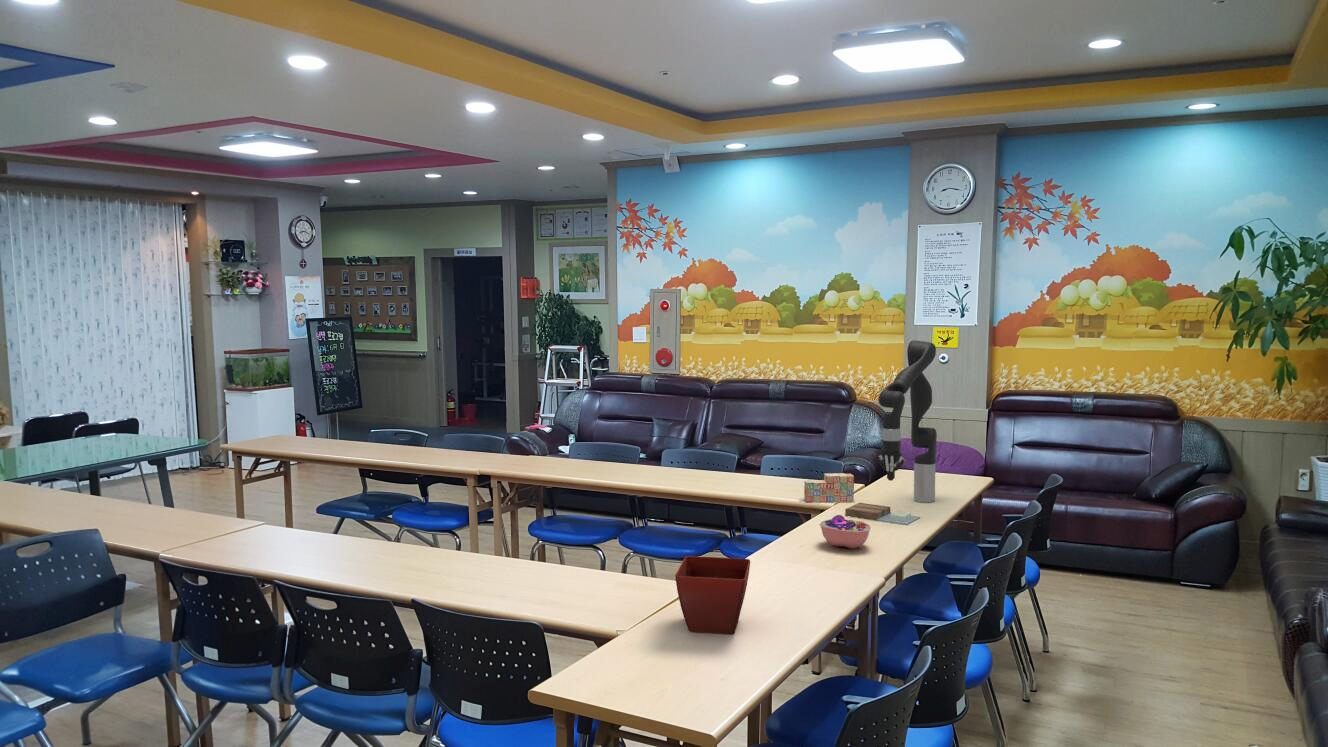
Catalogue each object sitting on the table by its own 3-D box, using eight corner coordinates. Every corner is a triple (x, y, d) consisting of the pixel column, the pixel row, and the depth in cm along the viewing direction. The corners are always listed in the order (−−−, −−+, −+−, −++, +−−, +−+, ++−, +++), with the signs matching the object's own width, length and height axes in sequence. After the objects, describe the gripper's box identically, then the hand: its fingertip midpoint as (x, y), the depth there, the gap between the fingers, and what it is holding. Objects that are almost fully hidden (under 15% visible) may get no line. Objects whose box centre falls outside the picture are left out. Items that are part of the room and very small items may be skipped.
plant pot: (745, 640, 239) (745, 579, 238) (674, 636, 242) (674, 575, 241) (750, 615, 258) (750, 558, 256) (685, 612, 261) (685, 555, 260)
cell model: (848, 557, 316) (848, 525, 315) (809, 544, 333) (809, 514, 332) (881, 549, 325) (882, 518, 324) (842, 537, 342) (842, 508, 341)
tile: (911, 512, 370) (911, 517, 370) (897, 510, 373) (897, 515, 374) (904, 516, 363) (904, 521, 364) (890, 514, 367) (890, 519, 367)
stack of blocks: (806, 503, 400) (806, 476, 399) (804, 500, 407) (804, 473, 406) (853, 502, 400) (854, 475, 399) (851, 499, 407) (851, 473, 406)
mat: (890, 513, 379) (890, 512, 379) (920, 517, 371) (920, 516, 371) (876, 520, 367) (876, 519, 367) (907, 525, 360) (907, 523, 359)
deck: (859, 509, 387) (859, 502, 387) (890, 513, 379) (890, 506, 378) (845, 516, 375) (845, 509, 375) (876, 520, 367) (876, 513, 367)
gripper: (910, 439, 368) (909, 480, 369) (879, 436, 375) (879, 476, 377) (903, 441, 362) (902, 483, 363) (872, 438, 369) (872, 479, 371)
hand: (890, 480), depth 370 cm, fingers closed
